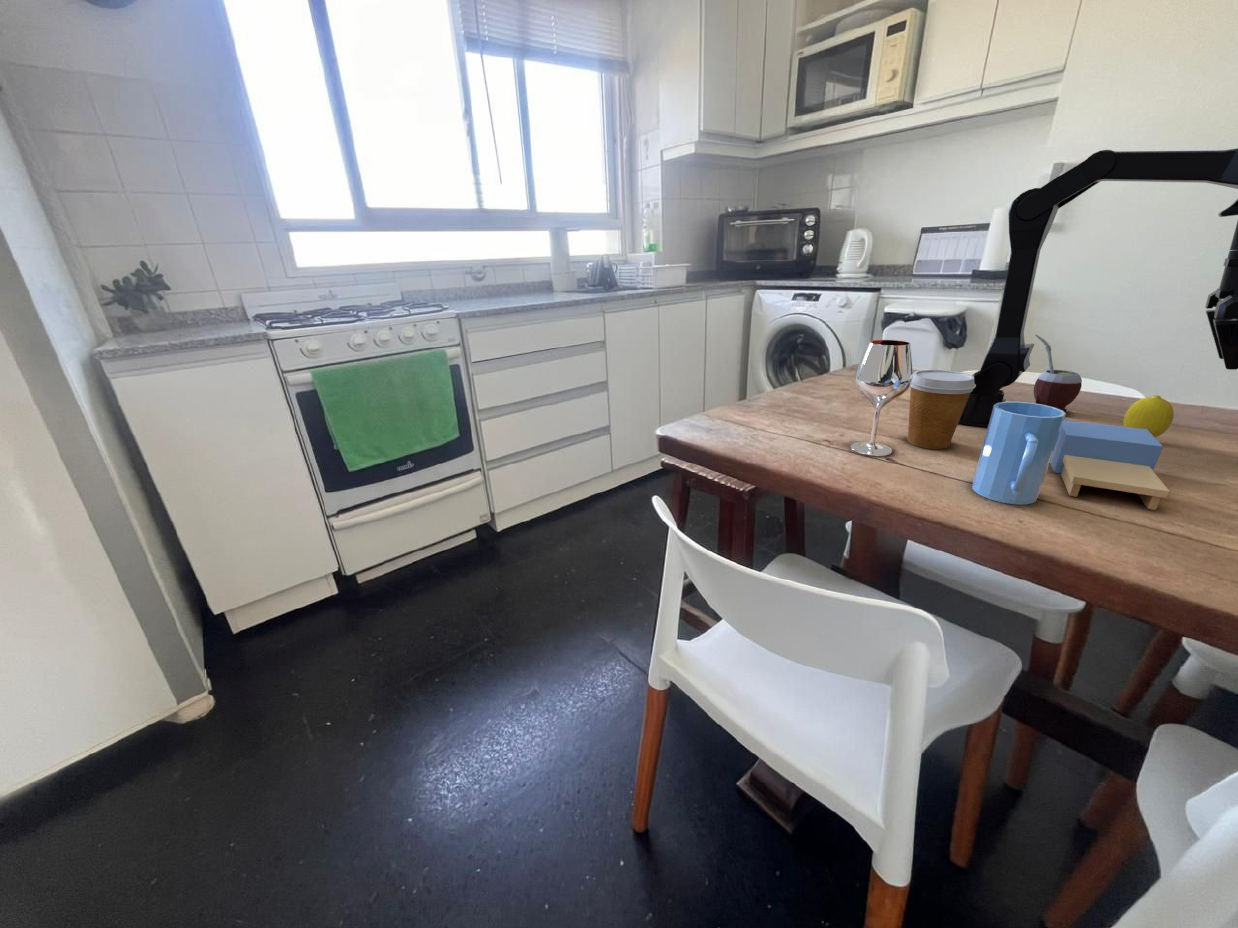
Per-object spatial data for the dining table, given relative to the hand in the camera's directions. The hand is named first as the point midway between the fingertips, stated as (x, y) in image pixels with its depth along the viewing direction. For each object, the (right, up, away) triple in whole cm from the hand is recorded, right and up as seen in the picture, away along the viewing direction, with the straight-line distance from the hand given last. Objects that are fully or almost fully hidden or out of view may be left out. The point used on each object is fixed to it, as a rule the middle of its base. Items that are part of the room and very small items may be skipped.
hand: (1228, 363), depth 72 cm
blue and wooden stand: (-20, -17, -1) cm, 26 cm away
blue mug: (-36, -19, -5) cm, 41 cm away
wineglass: (-46, -12, +13) cm, 49 cm away
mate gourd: (-2, -4, +28) cm, 29 cm away
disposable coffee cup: (-35, -11, +15) cm, 39 cm away
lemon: (0, -11, +12) cm, 16 cm away
